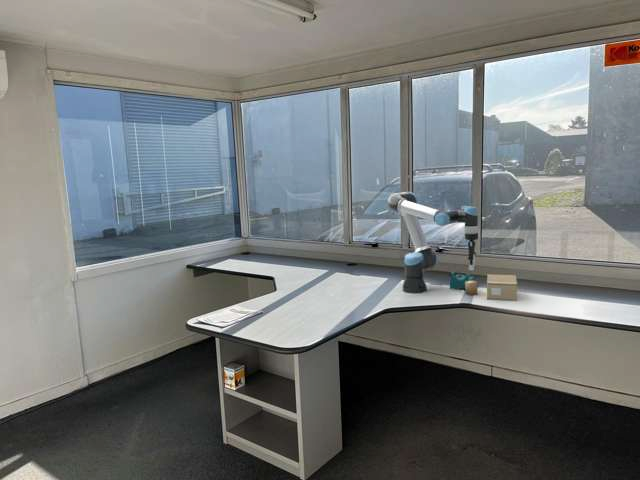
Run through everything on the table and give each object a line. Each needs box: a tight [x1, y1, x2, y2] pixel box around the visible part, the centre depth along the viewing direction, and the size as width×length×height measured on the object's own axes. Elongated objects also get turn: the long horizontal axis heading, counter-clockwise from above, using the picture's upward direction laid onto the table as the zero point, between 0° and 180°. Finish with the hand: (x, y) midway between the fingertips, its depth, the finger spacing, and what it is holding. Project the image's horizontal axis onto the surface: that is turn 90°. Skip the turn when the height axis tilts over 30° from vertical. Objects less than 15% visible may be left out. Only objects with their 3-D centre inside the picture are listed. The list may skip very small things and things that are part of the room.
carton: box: [486, 283, 518, 302], centre depth 268 cm, size 16×20×9 cm
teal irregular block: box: [449, 271, 474, 291], centre depth 292 cm, size 18×11×10 cm, turn 150°
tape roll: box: [465, 280, 479, 296], centre depth 275 cm, size 7×7×7 cm
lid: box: [486, 274, 518, 286], centre depth 267 cm, size 16×20×1 cm
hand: (471, 267), depth 273 cm, fingers open, 13 cm apart
